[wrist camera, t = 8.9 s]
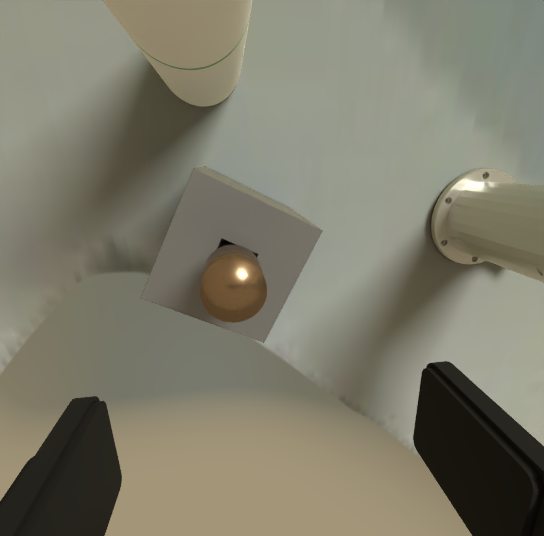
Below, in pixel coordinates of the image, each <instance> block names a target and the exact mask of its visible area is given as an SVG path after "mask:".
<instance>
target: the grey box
mask: <svg viewBox="0 0 544 536" xmlns="http://www.w3.org/2000/svg"><path fill="white" fill-rule="evenodd" d="M322 231H323V230H321V229H320V228H318V227H317V226H315V225H314V224H312V223H311V222H310V221H308V220H307V219H305V218H304V217H302V216H301V215H300V214H298V213H297V212H295V211H294V210H292V209H291V208H290V207H288V206H286V205H284V204H282V203H279V202H277V201H275V200H273V199H271V198H269V197H267V196H265V195H263V194H261V193H259V192H257V191H255V190H253V189H251V188H249V187H247V186H245V185H243V184H241V183H238V182H236V181H234V180H232V179H230V178H228V177H226V176H224V175H222V174H220V173H218V172H216V171H214V170H212V169H210V168H208V167H206V166H204V167H198V168H193V170H192V173H191V175H190V178H189V180H188V183H187V185H186V188H185V190H184V193H183V195H182V197H181V200H180V202H179V205H178V207H177V210H176V212H175V215H174V217H173V219H172V222H171V224H170V227H169V229H168V232H167V234H166V237H165V239H164V241H163V244H162V246H161V249H160V251H159V254H158V256H157V259H156V261H155V264H154V266H153V268H152V271H151V273H150V276H149V278H148V281H147V283H146V286H145V288H144V290H143V293H142V295H141V298H142V299H145V300H148V301H150V302H153V303H156V304H159V305H161V306H164V307H167V308H170V309H172V310H175V311H178V312H181V313H183V314H186V315H189V316H192V317H194V318H198V319H200V320H203V321H205V322H208V323H211V324H214V325H216V326H219V327H222V328H225V329H227V330H230V331H233V332H236V333H238V334H241V335H244V336H247V337H250V338H252V339H255V340H258V341H261V342H263V343H264V342H265V340H266V338H267V336H268V334H269V332H270V330H271V329H272V327H273V325H274V323H275V321H276V319H277V317H278V315H279V313H280V311H281V309H282V308H283V306H284V304H285V302H286V300H287V298H288V296H289V294H290V292H291V290H292V288H293V286H294V285H295V283H296V281H297V279H298V277H299V275H300V273H301V271H302V269H303V267H304V265H305V264H306V262H307V260H308V258H309V256H310V254H311V252H312V250H313V248H314V246H315V244H316V242H317V241H318V239H319V237H320V235H321V233H322ZM221 239H225V240H227V241H229V242H232V243H234V244H236V245H239V246H243V247H245V248H247V249H249V250H250V251H252V252H255V253H256V254H255V256H256V257H257V259H258V261H259V263H260V266H261V269H262V272H263V275H264V278H265V281H266V284H267V297H266V301H265V303H264V305H263V307H262V308H261V310H260V311H259V312H258V313H257V314H256V315H254V316H253V317H251V318H250V319H248V320H245V321H242V322H235V323H231V322H224V321H221V320H218V319H216V318H215V317H213V316H212V315H210V314H209V313H208V312H207V310H206V309H205V308H204V306H203V304H202V301H201V298H200V286H201V281H202V276H203V271H204V266H205V263H206V261H207V259H208V257H209V256H210V255H211V254H212V252H214V251H215V250H216V249H217V247H218V245H219V243H220V241H221Z"/></svg>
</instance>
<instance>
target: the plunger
mask: <svg viewBox="0 0 544 536" xmlns="http://www.w3.org/2000/svg"><path fill="white" fill-rule="evenodd" d="M255 254H256V253H255V252H252V251H250V250H249V249H247V248H245V247H243V246H239V245H236V244H234V243H232V242H229V241H227V240H225V239H221V241H220V243H219V245H218V247H217V249H216V250H215V251H214V252H212V254H211V255H210V256H209V257H208V259H207V261H206V263H205V266H204V271H203V276H202V281H201V286H200V298H201V301H202V304H203V306H204V308H205V309H206V310H207V312H208V313H209V314H210V315H212V316H213V317H215V318H216V319H218V320H221V321H224V322H231V323H235V322H242V321H245V320H248V319H250V318H251V317H253V316H254V315H256V314H257V313H258V312H259V311H260V310H261V308H262V307H263V305H264V303H265V301H266V297H267V284H266V281H265V278H264V275H263V272H262V269H261V266H260V263H259V261H258V259H257V257H256V256H255Z"/></svg>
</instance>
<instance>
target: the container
mask: <svg viewBox="0 0 544 536" xmlns="http://www.w3.org/2000/svg"><path fill="white" fill-rule="evenodd" d="M103 1H104V2H105V4H106V5H107V6H108V8H109V9H110V10H111V12H112V13H113V14H114V16H115V17H116V18H117V20H118V21H119V22H120V24H121V25H122V26H123V28H124V29H125V30H126V32H127V33H128V34H129V36H130V37H131V38H132V40H133V41H134V42H135V44H136V45H137V46H138V48H139V49H140V50H141V51H142V53H143V54H144V55H145V57H146V58H147V59H148V61H149V62H150V63H151V65H152V66H153V67H154V69H155V70H156V71H157V73H158V74H159V75H160V77H161V78H162V79H163V81H164V82H165V83H166V85H167V86H168V87H169V89H170V90H171V91H172V92H173V93H174V94H175V95H176V96H177V97H179V98H180V99H181V100H183V101H185V102H187V103H189V104H191V105H195V106H201V107H206V106H213V105H216V104H218V103H220V102H222V101H223V100H225V99H226V98H227V97H228V96H229V95H230V94H231V93H232V92H233V90H234V89H235V87H236V85H237V83H238V81H239V77H240V73H241V67H242V61H243V55H244V49H245V43H246V37H247V31H248V25H249V19H250V13H251V7H252V1H253V0H103Z"/></svg>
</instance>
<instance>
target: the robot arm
mask: <svg viewBox="0 0 544 536" xmlns="http://www.w3.org/2000/svg"><path fill="white" fill-rule="evenodd" d="M431 232H432V237H433V241H434V243H435V245H436V247H437V249H438V250H439V251H440V252H441V253H442V254H443V255H444V256H445V257H447V258H448V259H450V260H452V261H455V262H457V263H461V264H478V263H482V262H484V261H488V262H491V263H493V264H496V265H499V266H501V267H504V268H507V269H509V270H512V271H515V272H517V273H520V274H523V275H525V276H528V277H531V278H533V279H536V280H539V281H541V282H544V186H542V185H528V184H517V182H516V181H515V180H514V179H513V178H512V177H511V176H510V175H509V174H507V173H505V172H503V171H500V170H495V169H478V170H473V171H470V172H467V173H465V174H463V175H461V176H460V177H458V178H457V179H455V180H454V181H453V182H452V183H450V184H449V186H448V187H447V188H446V189H445V190H444V191H443V193H442V194H441V196H440V197H439V199H438V201H437V203H436V205H435V207H434V211H433V214H432V220H431ZM413 440H414V445H415V447H416V450H417V451H418V453H419V454H420V456H421V458H422V459H423V461H424V462H425V464H426V465H427V467H428V468H429V470H430V471H431V473H432V474H433V476H434V477H435V479H436V481H437V482H438V484H439V485H440V487H441V488H442V490H443V491H444V493H445V494H446V496H447V497H448V499H449V500H450V502H451V504H452V505H453V507H454V508H455V509H456V511H457V513H458V514H459V516H460V517H461V519H462V520H463V522H464V523H465V525H466V527H467V528H468V530H469V531H470V533H471V534H472V536H544V446H543V445H542V444H541V443H539V442H538V441H537V440H536V439H535V438H534V437H533V436H532V435H531V434H529V433H528V432H527V431H526V430H525V429H524V428H523V427H522V426H521V425H519V424H518V423H517V422H516V421H515V420H514V419H513V418H512V417H511V416H509V415H508V414H507V413H506V412H505V411H504V410H503V409H502V408H501V407H499V406H498V405H497V404H496V403H495V402H494V401H493V400H492V399H491V398H490V397H488V396H487V395H486V394H485V393H484V392H483V391H482V390H481V389H480V388H478V387H477V386H476V385H475V384H474V383H473V382H472V381H471V380H470V379H468V378H467V377H466V376H465V375H464V374H463V373H462V372H461V371H460V370H458V369H457V368H456V367H455V366H454V365H453V364H452V363H450V362H447V361H445V362H435V363H429V364H428V365H427V367H426V368H425V369H423V371H422V376H421V384H420V391H419V399H418V406H417V414H416V421H415V428H414V436H413ZM121 480H122V475H121V470H120V465H119V460H118V456H117V451H116V447H115V442H114V438H113V434H112V429H111V424H110V420H109V415H108V410H107V406H106V403H105V402H104V401H99V398H98V397H95V396H94V397H85V398H75V399H73V400H72V401H71V402H70V404H69V405H68V406H67V408H66V410H65V411H64V412H63V414H62V416H61V417H60V418H59V420H58V422H57V423H56V425H55V426H54V428H53V429H52V431H51V432H50V434H49V435H48V437H47V438H46V440H45V441H44V443H43V444H42V446H41V447H40V449H39V450H38V452H37V453H36V455H35V456H34V457H32V458H31V459H30V460H29V461H28V462H27V463H26V464H25V466H24V467H23V469H22V470H21V472H20V473H19V475H18V476H17V478H16V479H15V481H14V482H13V484H12V485H11V487H10V488H9V490H8V491H7V493H6V494H5V496H4V497H3V498H2V500H1V501H0V536H104V535H105V532H106V530H107V527H108V524H109V520H110V517H111V515H112V511H113V509H114V506H115V502H116V499H117V496H118V494H119V491H120V487H121Z"/></svg>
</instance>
